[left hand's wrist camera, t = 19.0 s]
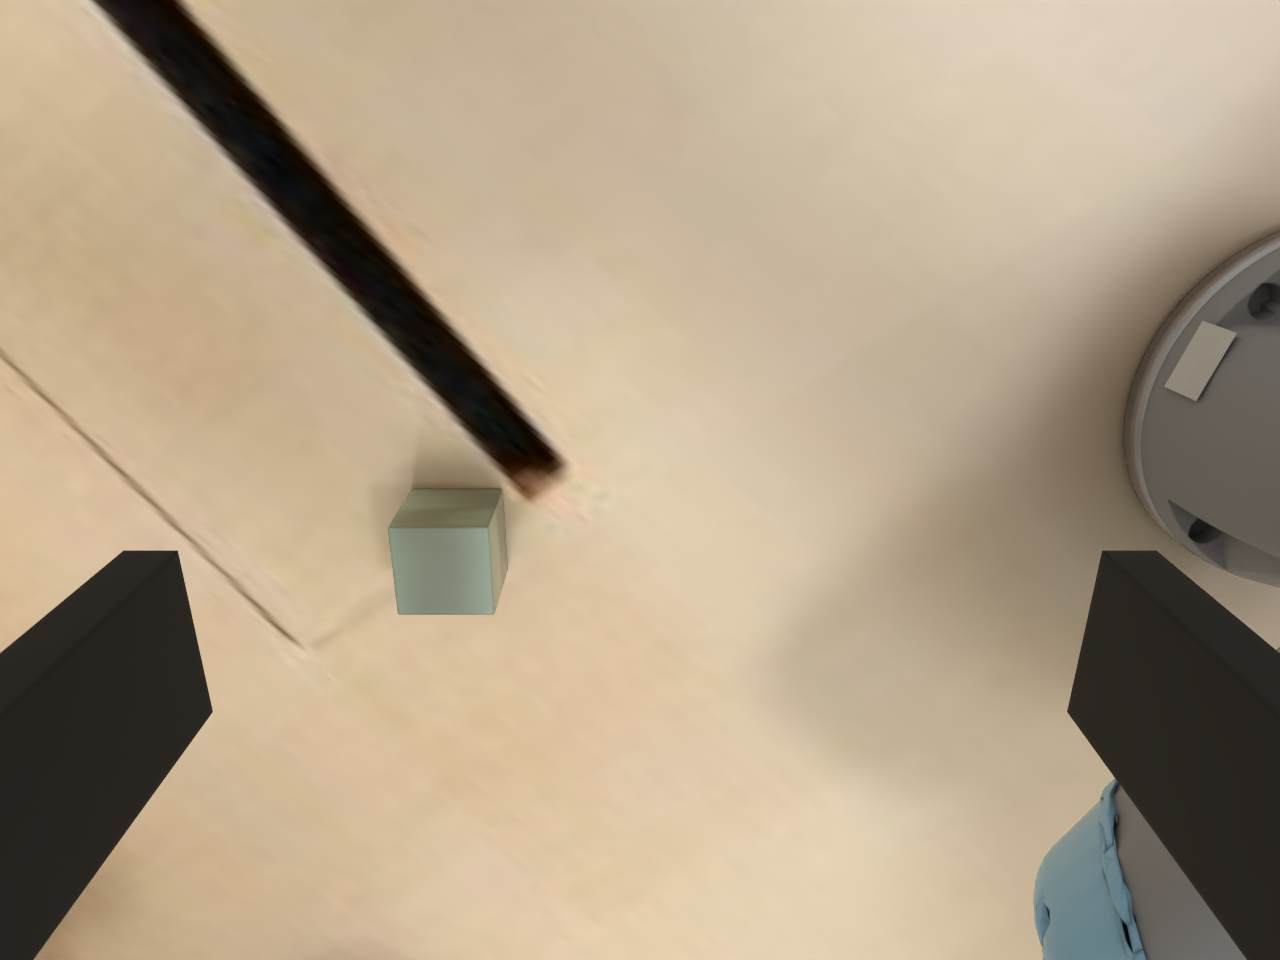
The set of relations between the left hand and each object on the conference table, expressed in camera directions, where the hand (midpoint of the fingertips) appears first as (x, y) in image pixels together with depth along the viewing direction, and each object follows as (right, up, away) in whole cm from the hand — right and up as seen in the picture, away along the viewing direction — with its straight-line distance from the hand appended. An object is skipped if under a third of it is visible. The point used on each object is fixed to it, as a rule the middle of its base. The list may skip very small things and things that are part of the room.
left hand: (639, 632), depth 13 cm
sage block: (-8, 0, +27) cm, 28 cm away
